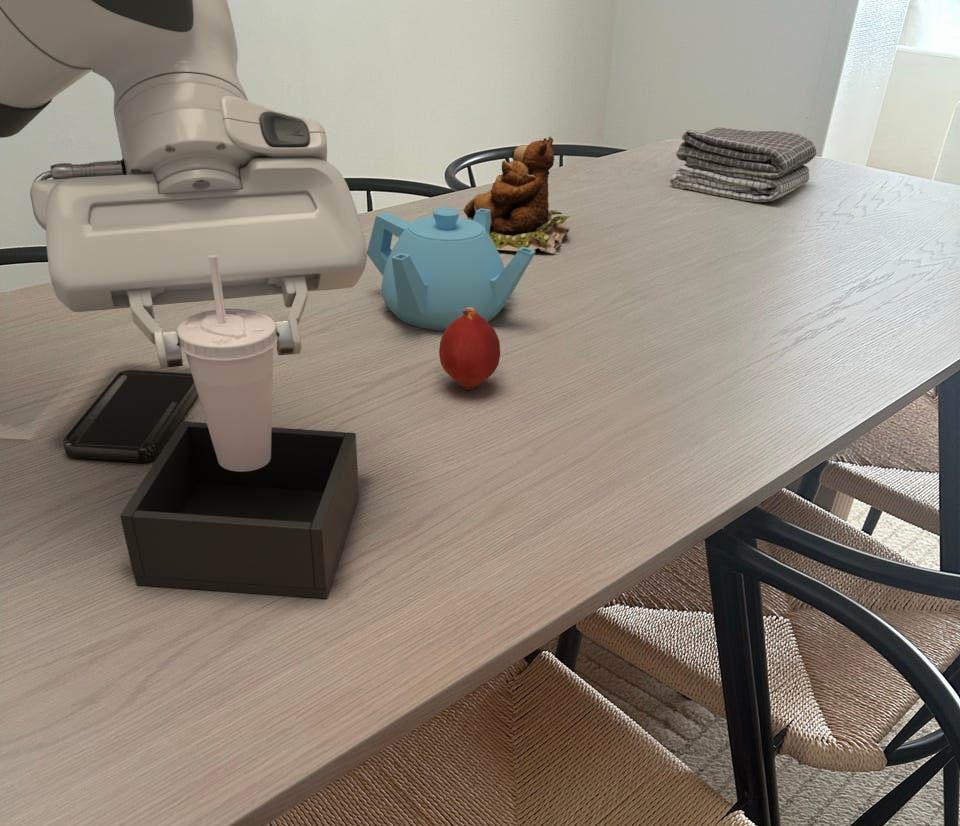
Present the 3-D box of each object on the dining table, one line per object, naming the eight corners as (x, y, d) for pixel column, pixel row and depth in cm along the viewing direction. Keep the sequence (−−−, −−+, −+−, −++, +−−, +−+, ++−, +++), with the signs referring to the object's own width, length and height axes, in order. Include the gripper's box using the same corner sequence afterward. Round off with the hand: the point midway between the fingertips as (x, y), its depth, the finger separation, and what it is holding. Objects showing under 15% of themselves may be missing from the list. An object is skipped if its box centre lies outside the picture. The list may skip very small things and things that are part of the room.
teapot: (491, 281, 118) (495, 185, 111) (532, 330, 107) (540, 227, 100) (365, 291, 114) (361, 192, 107) (395, 342, 103) (393, 236, 96)
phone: (58, 445, 82) (122, 368, 93) (61, 457, 82) (124, 379, 94) (151, 451, 81) (204, 373, 93) (154, 463, 82) (206, 384, 94)
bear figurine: (474, 214, 138) (477, 118, 130) (578, 229, 134) (588, 131, 126) (439, 244, 128) (440, 141, 120) (551, 261, 124) (559, 156, 116)
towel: (778, 208, 145) (791, 150, 140) (663, 185, 152) (672, 130, 147) (810, 186, 155) (823, 131, 150) (701, 165, 162) (710, 112, 157)
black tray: (135, 585, 69) (119, 515, 66) (192, 485, 80) (181, 420, 76) (327, 599, 69) (321, 529, 65) (359, 497, 80) (355, 432, 76)
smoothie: (261, 428, 74) (238, 235, 65) (307, 463, 70) (289, 263, 61) (182, 453, 70) (145, 253, 61) (225, 491, 67) (193, 284, 58)
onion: (451, 370, 98) (453, 291, 93) (506, 381, 97) (510, 300, 92) (430, 394, 94) (430, 312, 89) (487, 405, 93) (490, 323, 88)
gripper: (14, 136, 60) (56, 356, 59) (346, 122, 65) (388, 322, 64) (33, 193, 66) (71, 393, 65) (335, 176, 71) (374, 359, 70)
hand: (232, 357), depth 65 cm, fingers closed on smoothie, 6 cm apart
